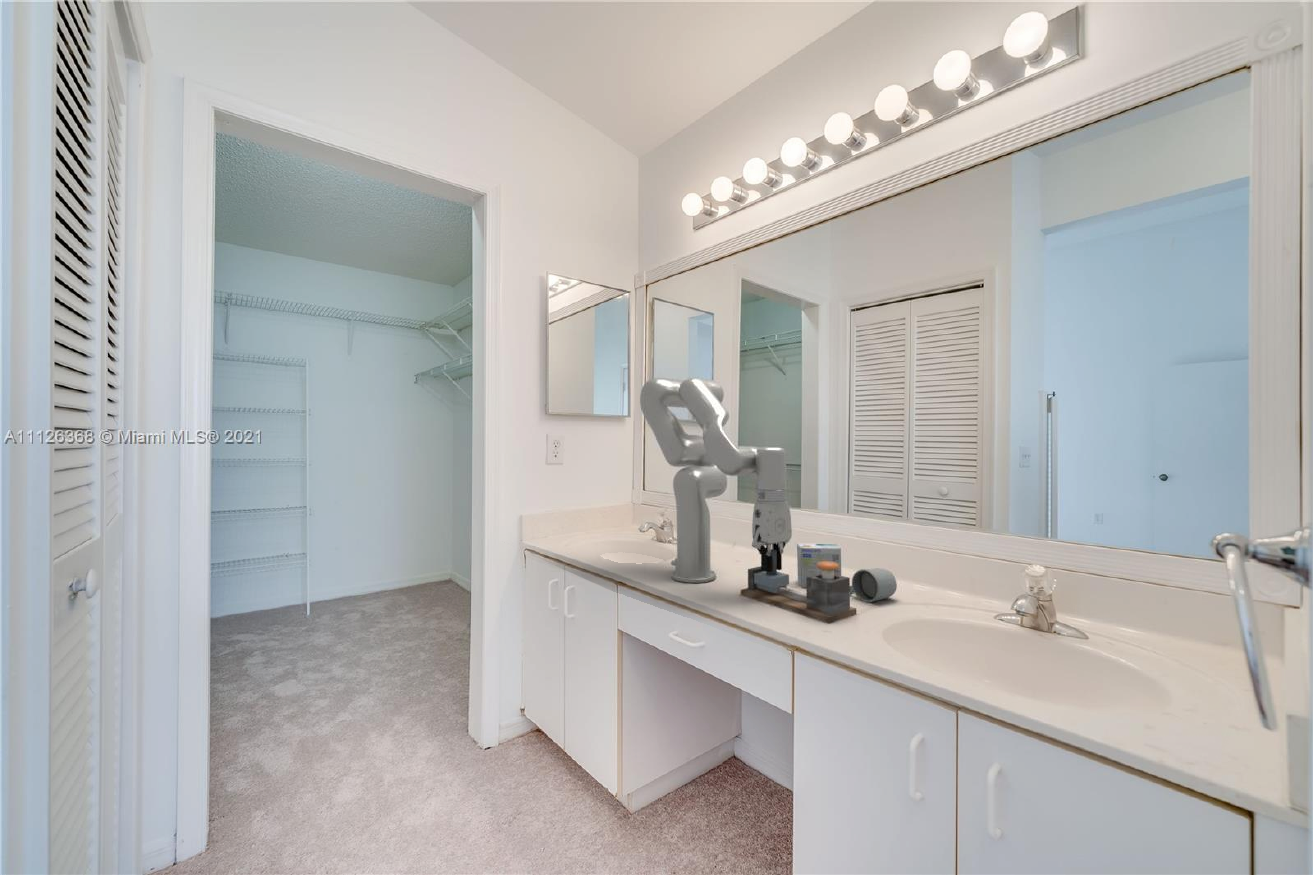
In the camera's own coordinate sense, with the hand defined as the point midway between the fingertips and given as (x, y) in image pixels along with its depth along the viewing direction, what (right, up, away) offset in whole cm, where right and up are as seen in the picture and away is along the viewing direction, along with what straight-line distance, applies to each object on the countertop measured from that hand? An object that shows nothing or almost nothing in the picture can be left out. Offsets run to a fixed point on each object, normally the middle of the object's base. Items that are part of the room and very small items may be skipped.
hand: (771, 569), depth 127 cm
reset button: (+10, 0, -13) cm, 16 cm away
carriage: (0, -5, 0) cm, 5 cm away
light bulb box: (+15, -7, +10) cm, 19 cm away
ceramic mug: (+24, -7, -2) cm, 25 cm away
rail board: (+4, -7, -6) cm, 10 cm away
